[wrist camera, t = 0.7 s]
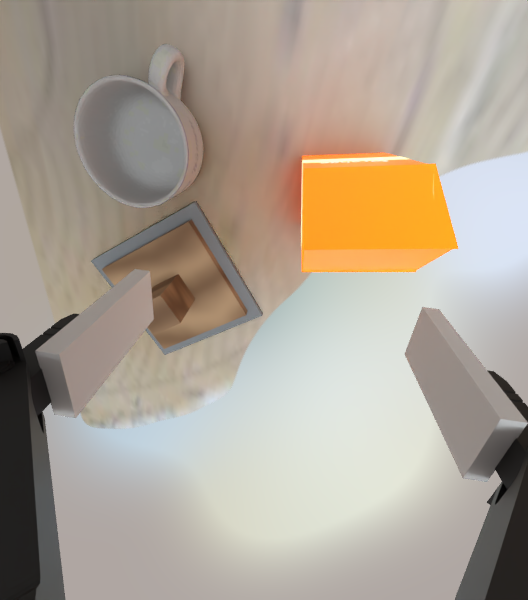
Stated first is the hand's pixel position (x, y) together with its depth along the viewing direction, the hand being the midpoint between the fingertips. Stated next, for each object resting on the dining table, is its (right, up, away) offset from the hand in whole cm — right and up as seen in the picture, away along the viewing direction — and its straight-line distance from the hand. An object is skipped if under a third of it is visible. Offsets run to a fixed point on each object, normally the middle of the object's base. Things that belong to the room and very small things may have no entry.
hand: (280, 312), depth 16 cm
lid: (-12, +2, +28) cm, 30 cm away
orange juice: (+8, +13, +20) cm, 25 cm away
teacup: (-11, +19, +19) cm, 29 cm away
